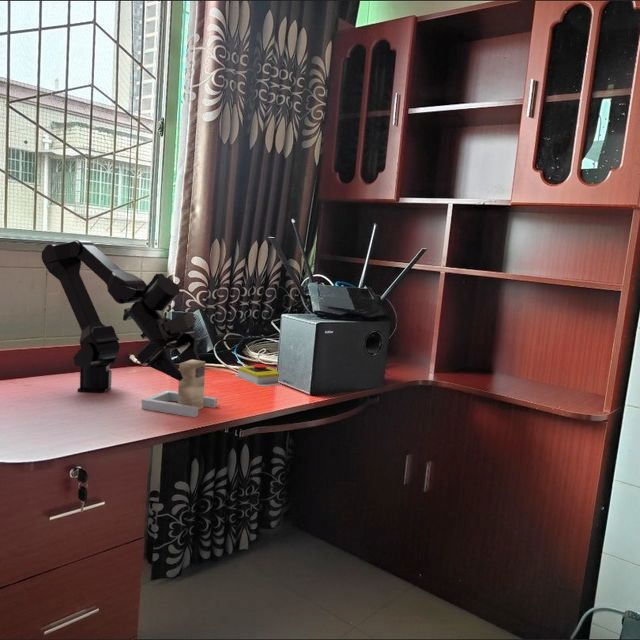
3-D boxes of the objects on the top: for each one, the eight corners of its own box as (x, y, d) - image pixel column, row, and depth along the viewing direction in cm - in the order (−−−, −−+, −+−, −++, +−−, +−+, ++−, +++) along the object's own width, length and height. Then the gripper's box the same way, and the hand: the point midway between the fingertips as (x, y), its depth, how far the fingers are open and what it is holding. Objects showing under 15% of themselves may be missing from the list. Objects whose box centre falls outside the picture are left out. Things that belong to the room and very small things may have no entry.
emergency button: (261, 360, 184) (290, 370, 173) (260, 374, 185) (289, 385, 173) (234, 362, 178) (262, 372, 167) (233, 376, 179) (261, 388, 167)
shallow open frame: (141, 408, 139) (141, 399, 139) (167, 398, 149) (167, 390, 149) (194, 417, 135) (194, 408, 135) (216, 406, 145) (217, 398, 145)
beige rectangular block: (177, 410, 139) (179, 363, 138) (189, 405, 145) (191, 359, 143) (193, 413, 138) (195, 365, 137) (205, 407, 143) (207, 361, 142)
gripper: (150, 303, 131) (194, 360, 129) (194, 298, 149) (234, 348, 147) (118, 336, 134) (160, 392, 132) (165, 327, 152) (203, 376, 150)
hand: (192, 375), depth 140 cm, fingers open, 9 cm apart
